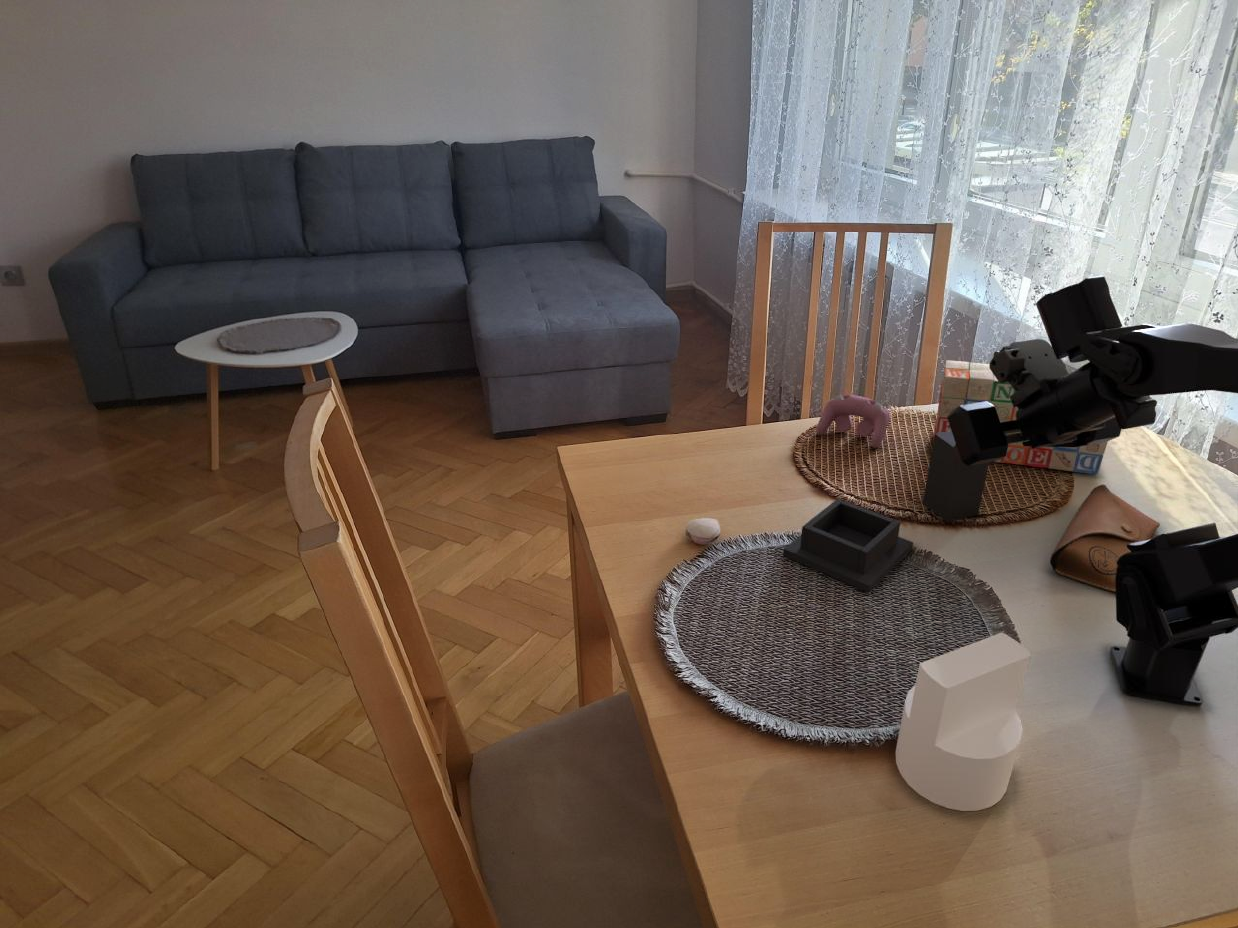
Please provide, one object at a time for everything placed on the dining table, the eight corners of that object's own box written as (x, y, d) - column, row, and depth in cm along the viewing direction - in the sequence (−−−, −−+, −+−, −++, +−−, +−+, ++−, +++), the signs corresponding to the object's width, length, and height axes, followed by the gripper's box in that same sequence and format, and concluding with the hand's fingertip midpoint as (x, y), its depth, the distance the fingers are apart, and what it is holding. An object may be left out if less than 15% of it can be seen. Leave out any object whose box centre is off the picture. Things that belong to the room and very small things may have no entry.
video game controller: (885, 450, 123) (896, 404, 123) (878, 449, 119) (890, 401, 119) (821, 435, 128) (832, 391, 127) (812, 433, 124) (824, 388, 123)
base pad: (912, 549, 98) (917, 520, 97) (868, 592, 92) (872, 563, 90) (830, 517, 105) (833, 490, 103) (782, 555, 98) (785, 527, 96)
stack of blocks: (1092, 455, 117) (1115, 374, 111) (1098, 476, 112) (1122, 392, 106) (932, 435, 124) (945, 358, 118) (930, 454, 119) (944, 374, 113)
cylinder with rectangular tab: (947, 827, 66) (974, 716, 60) (873, 746, 73) (891, 641, 67) (1032, 787, 69) (1065, 678, 63) (953, 713, 76) (976, 610, 70)
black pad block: (978, 515, 105) (993, 444, 100) (944, 521, 103) (958, 451, 99) (954, 496, 109) (968, 428, 104) (922, 502, 108) (934, 433, 103)
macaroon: (679, 541, 101) (679, 523, 100) (700, 522, 105) (701, 505, 104) (709, 552, 99) (709, 535, 98) (730, 533, 102) (731, 516, 101)
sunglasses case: (1132, 595, 89) (1111, 540, 88) (1063, 600, 94) (1043, 549, 93) (1163, 521, 101) (1144, 472, 100) (1100, 530, 106) (1082, 483, 105)
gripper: (1131, 315, 86) (1034, 374, 101) (975, 336, 82) (898, 394, 97) (1171, 415, 83) (1065, 460, 98) (1012, 442, 79) (927, 485, 94)
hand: (989, 447), depth 97 cm, fingers open, 9 cm apart
